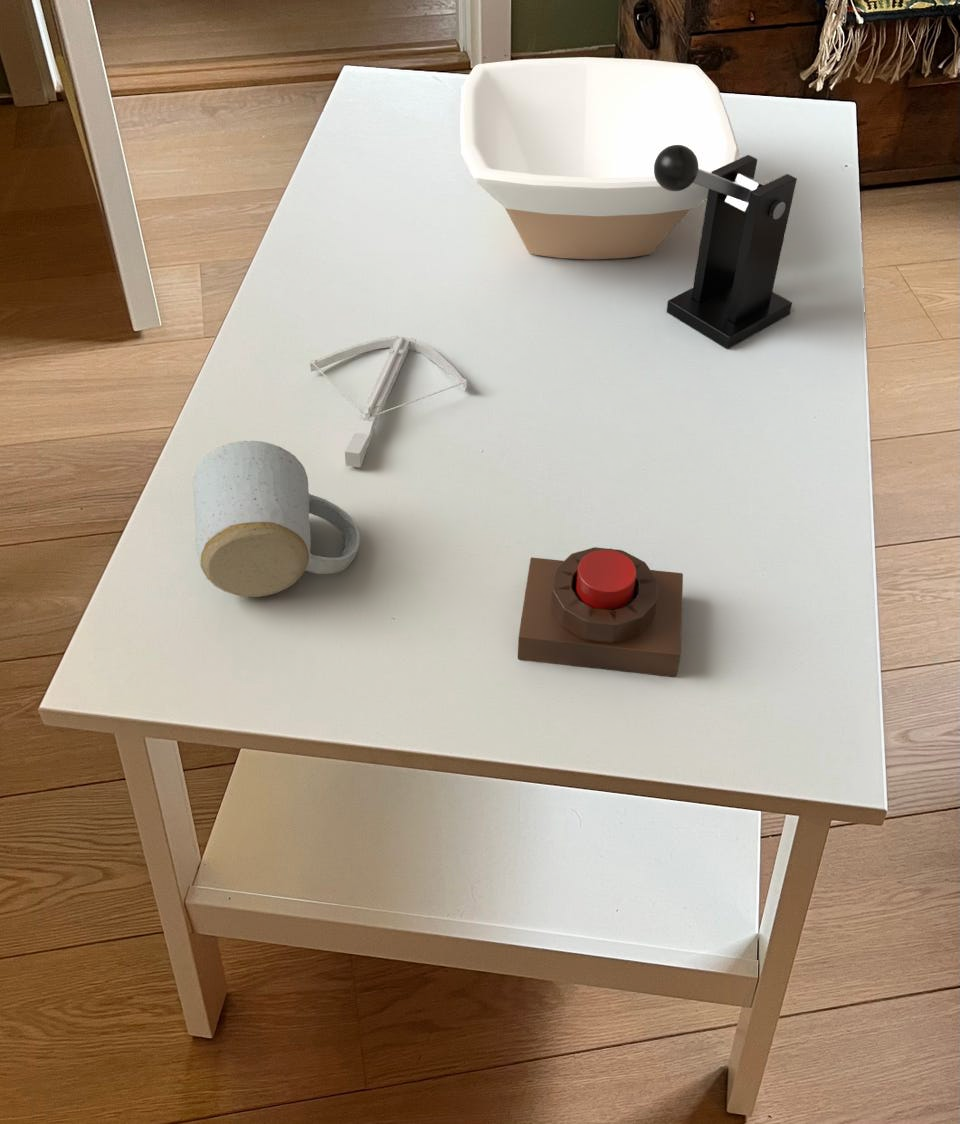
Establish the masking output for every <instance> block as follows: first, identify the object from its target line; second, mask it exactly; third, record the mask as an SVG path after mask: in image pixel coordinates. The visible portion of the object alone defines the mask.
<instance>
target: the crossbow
mask: <svg viewBox="0 0 960 1124" xmlns="http://www.w3.org/2000/svg"><path fill="white" fill-rule="evenodd" d="M388 348H389V351H388V355H387V358H386V360H385V363H384V365H383V367H382V368H381V371H380V373H379V376H378V378H377V380H376V382H375V384H374V386H373V388H372V391H371V392H370V394H369V397H368V398H367V400H366V403H365V406H364V408H363V409H362V410H361V409H360V408H359V407H358V406H357V405H356V404H355V403H354V402H353V401H352V400H351V399H350V398H349V397H348V396H347V395H346V394H345V393H344V392H343V391H342V390H341V389H340V388H339V387H338V386H337V385H336V384H335V383H334V382H333V380H331V379H330V378H329V377H328V376H327V375H326V374H325V373H324V372H323V371H322V370H321V369H323V368H325V367H327V366H330V365H333V364H334V363H337V362H340V361H343V360H346V359H349V358H351V357H354V356H357V355H360V354H364V353H368V352H372V351H376V350H381V349H388ZM409 351H414V352H417V353H419V354H422V355H424V356H426V357H427V358H428V359H429V360H431V361H432V362H433V363H435V364H436V365H438V367H440V368H441V369H442V370H443V371H444V372H445V373H446V374H447V375H448V376H450V377H451V378H452V379H453V381H454V382H455V383H456V384H454V385H452V386H449V387H446V388H444V389H440V390H438V391H435V392H433V393H430V394H427V395H424V396H422V397H421V396H420V397H419V398H416V399H413V400H409V401H407V402H404V403H402V404H400V405H397V406H394V407H392V408H389V409H385V410H383V409H384V408H385V405H386V403H387V400H388V399H389V396H390V394H391V392H392V389H393V387H394V384H395V382H396V380H397V377H398V375H399V374H400V371H401V368H402V367H403V364H404V361H405V360H406V357H407V355H408V353H409ZM309 366H310V372H311V373H312V372H316V371H319V372H320V373H321V374H322V375H323V377H324V378H325V379H327V380H328V381H329V382H330V383H331V384H332V386H334V388H335V389H336V390H338V392H339V393H340V394H342V396H343V397H344V398H346V399H347V401H349V402H350V404H351V405H352V406H353V407H354V408H355V409H356V410H357V411H358V412H359V413H360V416H359V419H358V422H357V425H356V429H355V430H354V431H355V432H354V434H353V436H352V438H351V439H350V441H349V443H348V444H347V447H346V449H345V450H344V463H345V467H353V468H360V469H361V466H362V464H363V461H364V459H365V456H366V453H367V451H368V448H369V445H370V443H371V440H372V439H374V438H375V437H376V436H375V433H376V431H375V430H376V425H377V423H378V420H379V418H380V416H381V414H384V413H387V412H389V411H392V410H394V409H398V408H400V407H403V406H406V405H409V404H411V403H414V402H417V401H420V400H422V399H425V398H428V397H430V396H433V395H437V394H439V393H442V392H444V391H446V390H450V389H452V388H455V387H457V386H458V387H459V388H460V389H461V390H462V391H463V392H465V393H466V391H467V390H468V389H467V388H468V380H467V379H466V378H465V377H463V376H462V375H461V374H460V373H459V372H458V370H457V369H456V368H455V367H454V366H453V365H452V364H451V363H450V362H449V361H447V359H446V358H444V357H443V356H442V355H441V354H440V353H439V352H437V351H436V350H434V349H433V348H432V347H430V346H429V345H428V344H426V343H424V342H422V341H420V340H417V338H414V337H408V336H407V337H406V336H398V335H391V336H386V337H378V338H374V339H371V340H368V341H367V340H366V341H364V342H359V343H357V344H354V345H351V346H348V347H345V348H343V349H339V350H337V351H333V352H332V353H330V354H327V355H325V356H323V357H320V358H318V359H317V358H316V359H312V360H311V361H310V364H309Z"/></svg>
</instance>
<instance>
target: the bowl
mask: <svg viewBox="0 0 960 1124" xmlns="http://www.w3.org/2000/svg"><path fill="white" fill-rule="evenodd" d="M460 90H461V94H460V117H459V119H460V120H459V121H460V123H459V125H460V153H461V158H462V159H463V161H464V163H465V165H466V167H467V169H468V171H469V173H470V175H471V176H472V178H473V180H474V182H475V183H476V184H477V185H478V186H479V187H481V188H482V189H483V190H484V191H485V192H486V193H487V194H488V195H489V196H491V197H492V198H493V199H494V200H495V201H496V202H498V204H500V205H501V206H502V207H503V208H504V210H505V212H506V213H507V215H508V217H509V219H510V221H511V223H512V224H513V226H514V227H515V229H516V231H517V234H518V235H519V237H520V239H521V241H522V243H523V244H524V246H525V248H526V250H527V252H528V253H529V254H530V255H534V256H543V257H548V258H549V257H550V258H556V259H573V260H574V259H575V260H609V259H610V260H611V259H612V260H613V259H628V258H635V257H641V256H642V257H643V256H649V255H652V254H654V253H655V251H656V250H657V249H658V247H660V245H661V244H662V243H663V241H664V240H665V239H666V238H667V236H669V235H670V233H671V232H672V231H673V230H674V229H675V227H676V226H677V225H678V224H679V222H680V221H681V220H682V219H683V218H684V217H685V216H686V214H687V213H688V212H689V211H690V210H691V209H693V208H695V207H696V206H698V205H700V204H701V203H703V202H704V201H707V197H708V190H709V189H708V188H706V187H703V186H700V185H697V184H695V183H692V184H691V185H690V186H689V187H687V188H686V189H684V190H681V191H669V190H666V189H664V188H663V187H662V186H660V185H659V183H658V182H657V180H656V178H655V175H654V163H655V160H656V158H657V156H658V155H659V153H660V152H661V151H662V150H663V149H665V148H666V147H669V146H671V145H683V146H686V147H688V148H689V149H691V150H692V151H693V152H694V154H695V155H696V157H697V160H698V165H699V167H698V168H699V169H702V170H704V171H707V172H709V173H711V172H712V171H714V170H716V169H718V168H721V167H723V166H725V165H727V164H729V163H731V162H734V161H736V160H738V159H739V155H740V148H739V144H738V143H737V139H736V135H735V133H734V132H735V131H734V130H733V127H732V123H731V120H730V117H729V114H728V111H727V108H726V106H725V103H724V101H723V98H722V96H721V95H722V94H721V93H720V90H719V88H718V86H717V85H716V84H715V83H714V82H713V80H711V79H710V78H709V76H708V75H707V74H706V73H705V72H704V71H703V70H702V69H701V68H700V67H699V66H698V65H696V64H691V63H682V62H672V61H665V60H655V59H654V60H653V59H640V58H639V59H638V58H617V57H616V58H615V57H591V56H590V57H589V56H584V57H583V56H581V57H580V56H578V57H553V58H552V57H551V58H550V57H549V58H548V57H547V58H523V59H513V60H504V61H495V62H486V63H478V64H476V65H475V66H474V67H473V68H472V70H471V71H470V72H469V74H468V76H467V77H466V80H465V81H464V83H463V85H462V86H461V89H460Z"/></svg>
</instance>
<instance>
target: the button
mask: <svg viewBox="0 0 960 1124" xmlns="http://www.w3.org/2000/svg"><path fill="white" fill-rule="evenodd" d="M635 579H636V568H635V566H634V564H633V562H632V561H631V560H630V559H629V558H628V557H627V556H625V555H623V554H621V553H619V552H616V551H612V550H598V551H594V552H591V553H589V554H587V555H586V556H585V557H583V559H582V560H581V561H580V563H579V565H578V572H577V583H576V590H577V594H578V595H579V597H580V599H581V600H582V601H583V602H584V603H586V604H587V605H589V606H591V607H593V608H596V609H603V610H614V609H618V608H621V607H623V606H624V605H626V604H627V603H628V602H629V601H630V600H631V598H632V596H633V593H634V586H635Z"/></svg>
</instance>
